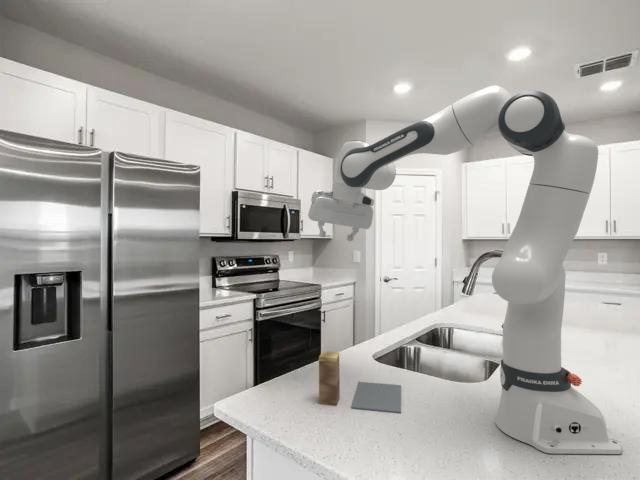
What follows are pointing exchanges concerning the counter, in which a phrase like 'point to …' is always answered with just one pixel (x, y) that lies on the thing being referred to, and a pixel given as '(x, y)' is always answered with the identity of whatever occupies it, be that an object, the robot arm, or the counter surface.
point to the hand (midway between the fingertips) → (336, 238)
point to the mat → (377, 397)
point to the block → (329, 378)
